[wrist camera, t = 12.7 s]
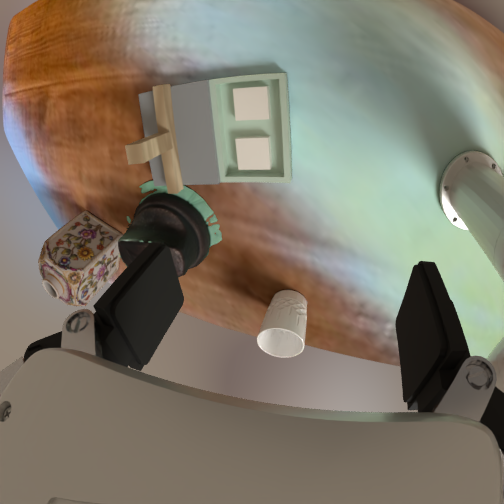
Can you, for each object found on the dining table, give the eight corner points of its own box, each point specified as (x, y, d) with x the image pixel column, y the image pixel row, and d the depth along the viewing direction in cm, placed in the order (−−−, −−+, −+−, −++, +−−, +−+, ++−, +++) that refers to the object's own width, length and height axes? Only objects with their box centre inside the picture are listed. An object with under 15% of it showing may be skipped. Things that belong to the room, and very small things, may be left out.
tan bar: (172, 83, 32) (133, 87, 24) (185, 188, 40) (154, 215, 33) (158, 86, 32) (117, 91, 25) (172, 188, 41) (139, 214, 34)
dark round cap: (146, 271, 58) (124, 299, 50) (116, 186, 47) (84, 208, 40) (231, 276, 52) (214, 311, 45) (209, 173, 42) (182, 196, 34)
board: (214, 79, 33) (206, 79, 30) (225, 177, 41) (218, 184, 39) (149, 92, 36) (138, 94, 33) (163, 179, 44) (154, 186, 41)
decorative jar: (85, 207, 52) (27, 253, 37) (125, 233, 53) (68, 288, 38) (83, 246, 59) (35, 292, 44) (119, 270, 60) (73, 323, 45)
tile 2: (235, 138, 35) (238, 136, 37) (238, 169, 38) (241, 166, 39) (268, 137, 34) (270, 135, 36) (270, 169, 37) (272, 166, 38)
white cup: (285, 322, 55) (276, 362, 47) (260, 297, 53) (247, 336, 45) (318, 307, 51) (313, 350, 43) (293, 280, 49) (284, 322, 41)
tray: (287, 73, 30) (284, 72, 29) (292, 177, 39) (290, 182, 37) (214, 79, 33) (208, 79, 31) (225, 177, 41) (220, 182, 39)
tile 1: (232, 88, 32) (236, 88, 33) (235, 120, 34) (238, 119, 35) (266, 86, 30) (269, 86, 32) (269, 119, 33) (271, 118, 34)
